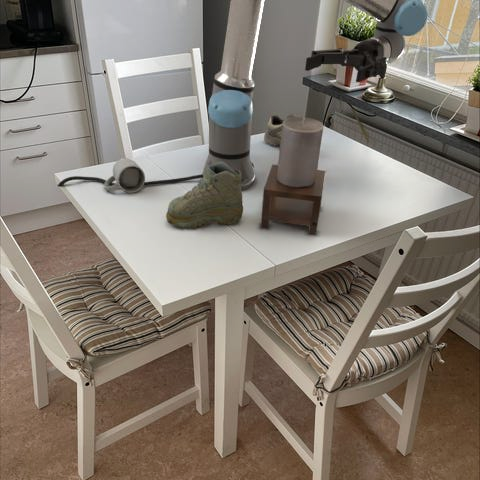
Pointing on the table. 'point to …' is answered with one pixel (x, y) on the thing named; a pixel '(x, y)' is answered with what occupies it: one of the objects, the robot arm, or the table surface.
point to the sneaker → (209, 199)
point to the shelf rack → (292, 202)
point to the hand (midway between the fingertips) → (332, 70)
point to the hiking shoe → (274, 130)
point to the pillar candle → (299, 151)
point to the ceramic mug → (126, 176)
